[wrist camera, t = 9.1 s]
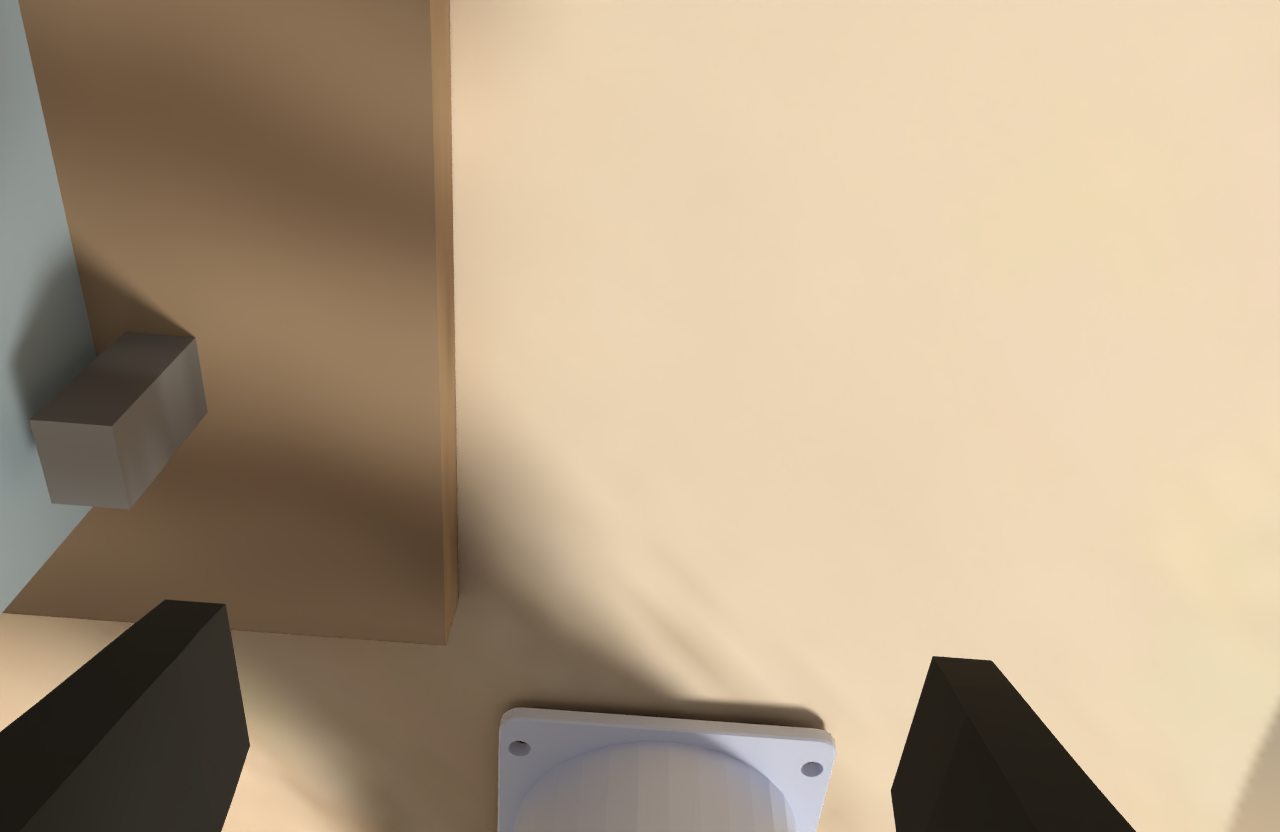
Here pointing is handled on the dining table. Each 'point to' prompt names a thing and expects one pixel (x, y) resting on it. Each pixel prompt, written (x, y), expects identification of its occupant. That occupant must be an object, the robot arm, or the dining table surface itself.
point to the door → (31, 315)
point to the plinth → (255, 313)
